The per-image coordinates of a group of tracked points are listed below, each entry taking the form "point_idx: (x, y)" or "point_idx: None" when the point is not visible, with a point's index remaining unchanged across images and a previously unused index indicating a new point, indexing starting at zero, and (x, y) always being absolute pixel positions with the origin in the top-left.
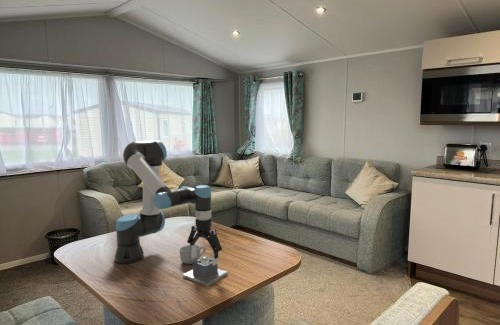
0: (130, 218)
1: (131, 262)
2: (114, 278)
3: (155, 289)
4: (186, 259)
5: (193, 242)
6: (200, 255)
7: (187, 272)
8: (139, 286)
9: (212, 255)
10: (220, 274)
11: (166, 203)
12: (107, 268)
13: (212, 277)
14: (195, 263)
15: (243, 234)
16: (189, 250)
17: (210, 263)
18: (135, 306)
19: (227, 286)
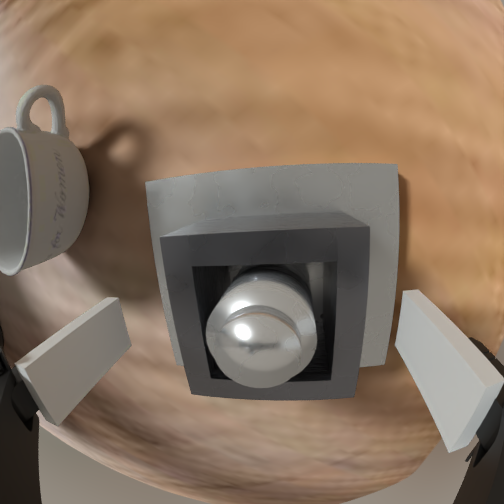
0: None
1: (1, 336)
2: (65, 421)
3: (198, 452)
4: (58, 253)
5: (32, 446)
6: (64, 131)
7: (174, 337)
8: (143, 447)
9: (435, 416)
10: (388, 233)
11: None
12: None
13: (368, 302)
14: (227, 395)
15: None
16: (6, 168)
17: (359, 338)
18: (246, 499)
19: (467, 290)
